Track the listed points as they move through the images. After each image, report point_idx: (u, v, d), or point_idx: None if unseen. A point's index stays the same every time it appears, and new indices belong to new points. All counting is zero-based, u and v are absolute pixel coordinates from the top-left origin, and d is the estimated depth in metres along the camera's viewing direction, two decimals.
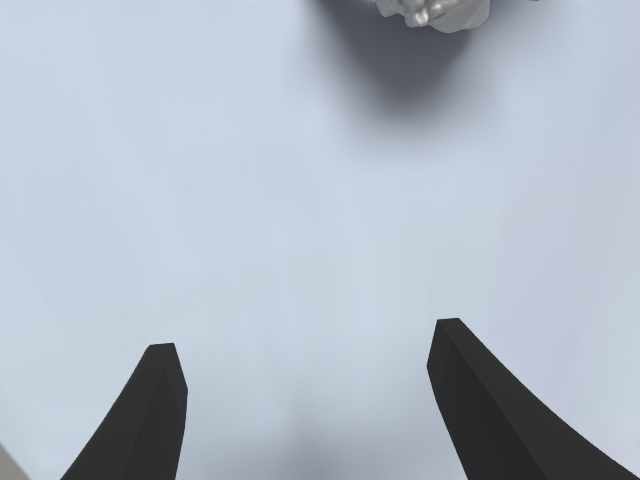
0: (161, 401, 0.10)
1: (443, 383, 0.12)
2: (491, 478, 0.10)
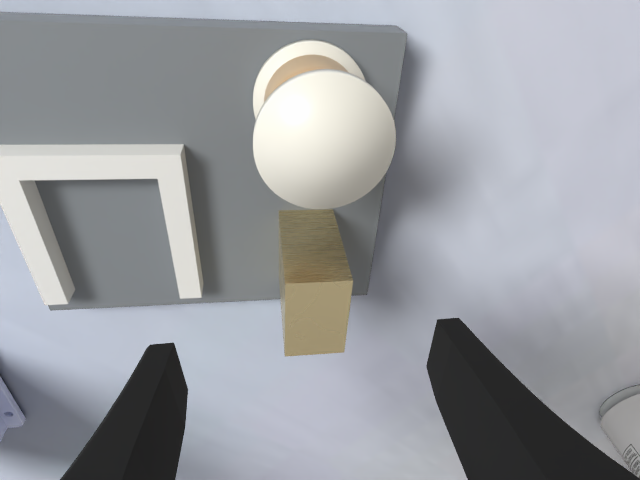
0: (161, 401, 0.10)
1: (443, 383, 0.12)
2: (491, 478, 0.10)
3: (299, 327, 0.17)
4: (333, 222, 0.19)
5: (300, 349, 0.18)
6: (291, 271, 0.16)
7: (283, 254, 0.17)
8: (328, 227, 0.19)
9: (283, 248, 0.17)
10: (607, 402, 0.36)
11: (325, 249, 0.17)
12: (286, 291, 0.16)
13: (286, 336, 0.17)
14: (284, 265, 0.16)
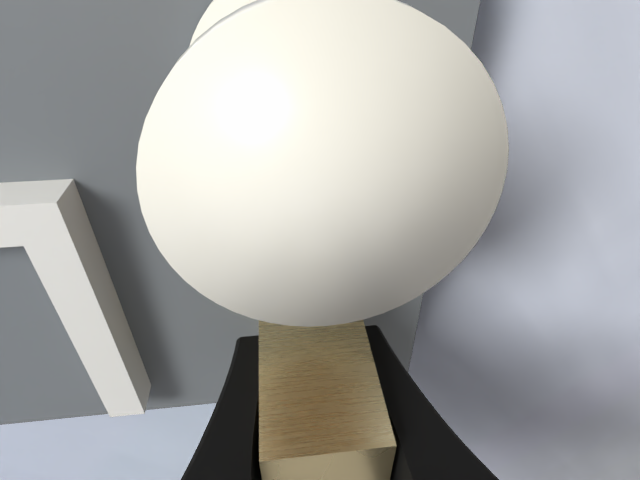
0: None
1: None
2: None
3: None
4: None
5: None
6: (273, 424, 0.08)
7: (260, 379, 0.09)
8: None
9: (261, 364, 0.09)
10: None
11: (340, 362, 0.09)
12: (263, 471, 0.08)
13: None
14: (260, 408, 0.09)
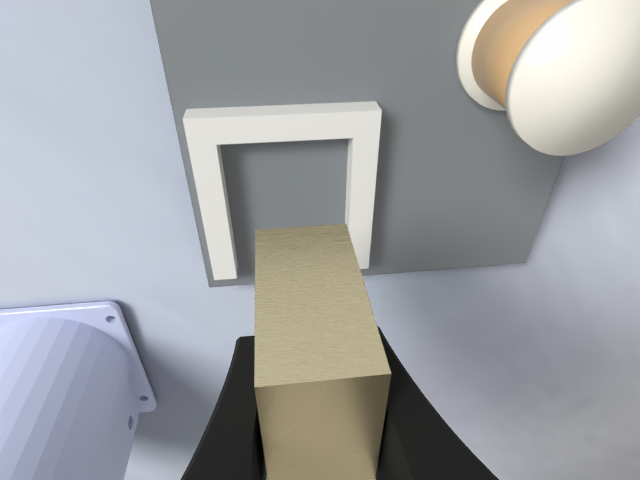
0: None
1: None
2: None
3: (290, 452, 0.09)
4: (348, 247, 0.11)
5: None
6: (269, 355, 0.08)
7: (256, 316, 0.09)
8: (339, 257, 0.11)
9: (257, 304, 0.09)
10: None
11: (336, 302, 0.09)
12: (259, 399, 0.08)
13: (268, 465, 0.09)
14: (256, 342, 0.09)
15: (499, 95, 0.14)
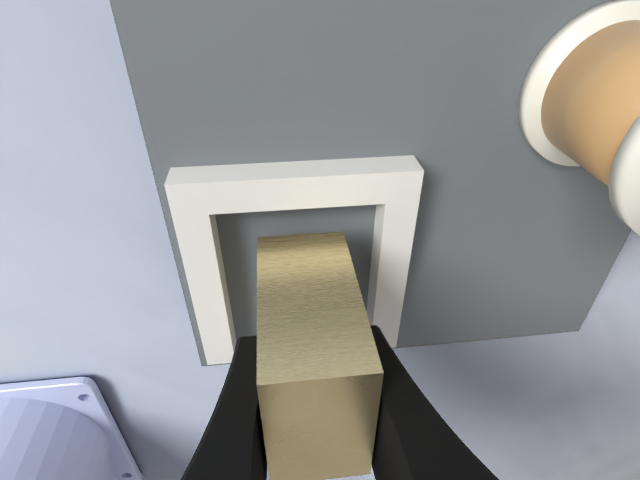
0: None
1: None
2: None
3: (290, 447, 0.10)
4: (344, 254, 0.12)
5: (296, 475, 0.10)
6: (270, 356, 0.09)
7: (258, 320, 0.10)
8: (336, 264, 0.11)
9: (259, 307, 0.10)
10: None
11: (332, 306, 0.10)
12: (260, 397, 0.09)
13: (269, 460, 0.10)
14: (258, 343, 0.09)
15: (588, 159, 0.10)
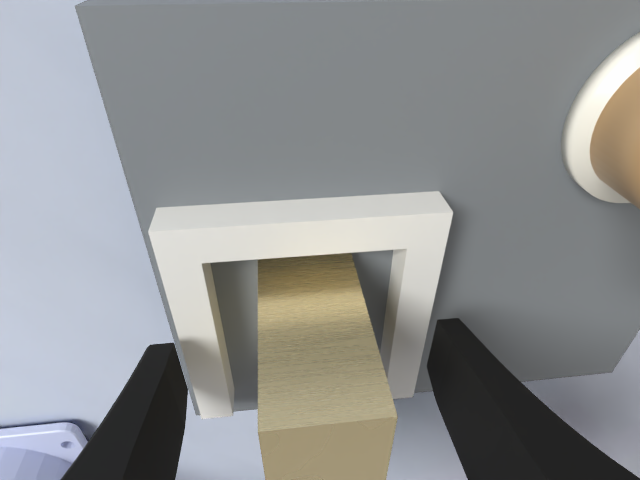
0: (161, 401, 0.10)
1: (443, 383, 0.12)
2: (491, 478, 0.10)
3: None
4: (351, 275, 0.11)
5: None
6: (273, 395, 0.08)
7: (259, 352, 0.09)
8: (343, 286, 0.11)
9: (260, 338, 0.09)
10: None
11: (340, 337, 0.09)
12: (262, 443, 0.08)
13: None
14: (259, 380, 0.08)
15: None
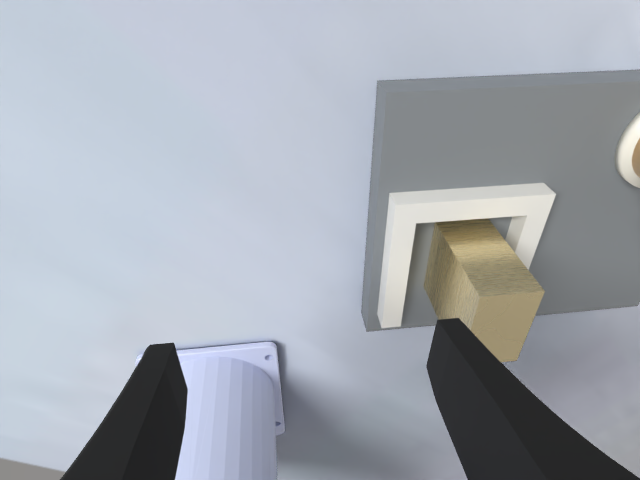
0: (161, 401, 0.10)
1: (443, 383, 0.12)
2: (491, 478, 0.10)
3: (481, 338, 0.17)
4: (494, 231, 0.19)
5: None
6: (480, 283, 0.16)
7: (462, 266, 0.17)
8: (492, 236, 0.19)
9: (459, 260, 0.17)
10: None
11: (501, 260, 0.17)
12: (479, 304, 0.16)
13: None
14: (469, 278, 0.17)
15: None
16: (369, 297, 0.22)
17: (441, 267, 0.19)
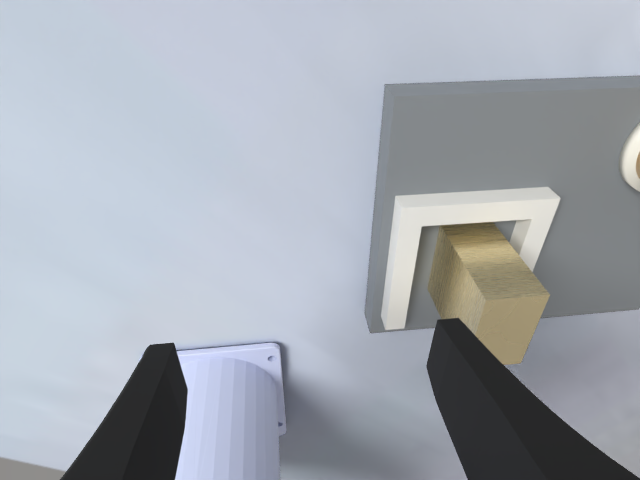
0: (161, 401, 0.10)
1: (443, 383, 0.12)
2: (491, 478, 0.10)
3: (486, 341, 0.17)
4: (499, 234, 0.19)
5: None
6: (485, 287, 0.16)
7: (468, 270, 0.17)
8: (497, 240, 0.19)
9: (465, 263, 0.18)
10: None
11: (507, 263, 0.18)
12: (485, 307, 0.16)
13: None
14: (475, 281, 0.17)
15: None
16: (373, 299, 0.22)
17: (446, 270, 0.19)
